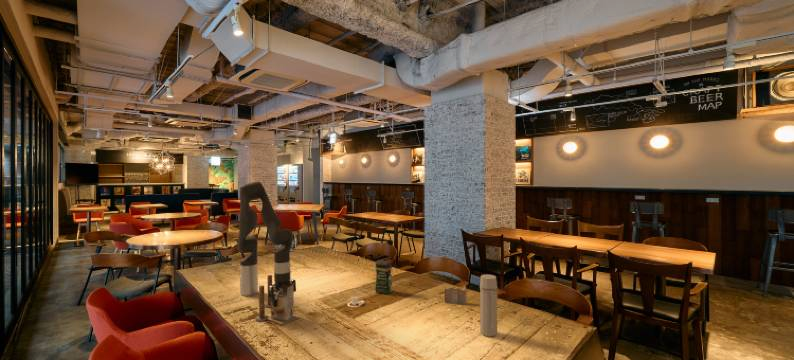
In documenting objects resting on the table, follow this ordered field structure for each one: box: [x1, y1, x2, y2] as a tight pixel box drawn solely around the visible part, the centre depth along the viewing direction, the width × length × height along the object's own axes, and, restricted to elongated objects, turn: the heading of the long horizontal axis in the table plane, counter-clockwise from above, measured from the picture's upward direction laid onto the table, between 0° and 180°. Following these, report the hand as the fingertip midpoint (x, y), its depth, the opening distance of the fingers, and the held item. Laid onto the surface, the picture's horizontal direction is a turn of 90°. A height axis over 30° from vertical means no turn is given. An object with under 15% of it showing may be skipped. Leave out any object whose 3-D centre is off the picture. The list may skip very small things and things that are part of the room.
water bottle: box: [479, 274, 499, 338], centre depth 153 cm, size 9×8×25 cm
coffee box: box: [270, 283, 295, 321], centre depth 172 cm, size 9×6×16 cm
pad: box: [266, 314, 300, 326], centre depth 172 cm, size 12×10×1 cm
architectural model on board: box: [444, 285, 467, 305], centre depth 192 cm, size 11×3×10 cm, turn 74°
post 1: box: [254, 285, 270, 323], centre depth 172 cm, size 6×6×16 cm
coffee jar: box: [374, 259, 393, 295], centre depth 209 cm, size 10×8×19 cm
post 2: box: [264, 274, 273, 309], centre depth 189 cm, size 6×6×16 cm
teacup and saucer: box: [346, 296, 365, 308], centre depth 190 cm, size 9×8×4 cm
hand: (282, 304), depth 172 cm, fingers open, 8 cm apart
